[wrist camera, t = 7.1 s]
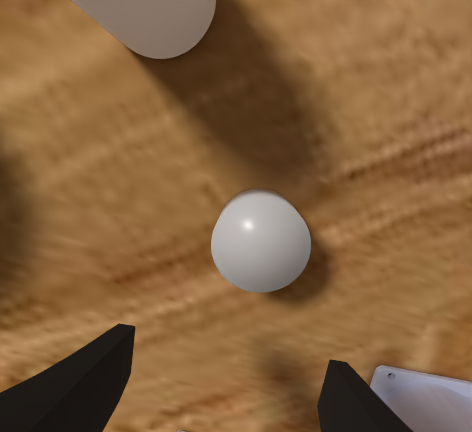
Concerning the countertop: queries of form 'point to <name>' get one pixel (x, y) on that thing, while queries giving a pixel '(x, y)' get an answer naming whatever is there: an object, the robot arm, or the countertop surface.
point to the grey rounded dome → (260, 241)
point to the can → (153, 23)
